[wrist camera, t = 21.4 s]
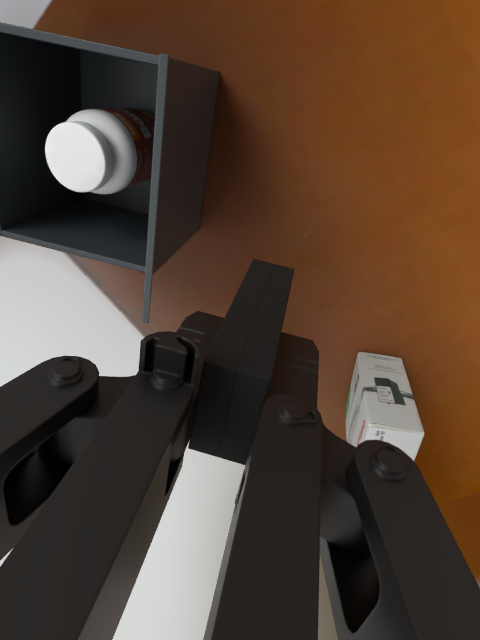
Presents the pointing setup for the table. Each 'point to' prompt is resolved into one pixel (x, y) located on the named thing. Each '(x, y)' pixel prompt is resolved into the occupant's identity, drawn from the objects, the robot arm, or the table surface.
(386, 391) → the ink box
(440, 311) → the table surface
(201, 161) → the waste bin
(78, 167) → the pill bottle
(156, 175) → the bin flap
